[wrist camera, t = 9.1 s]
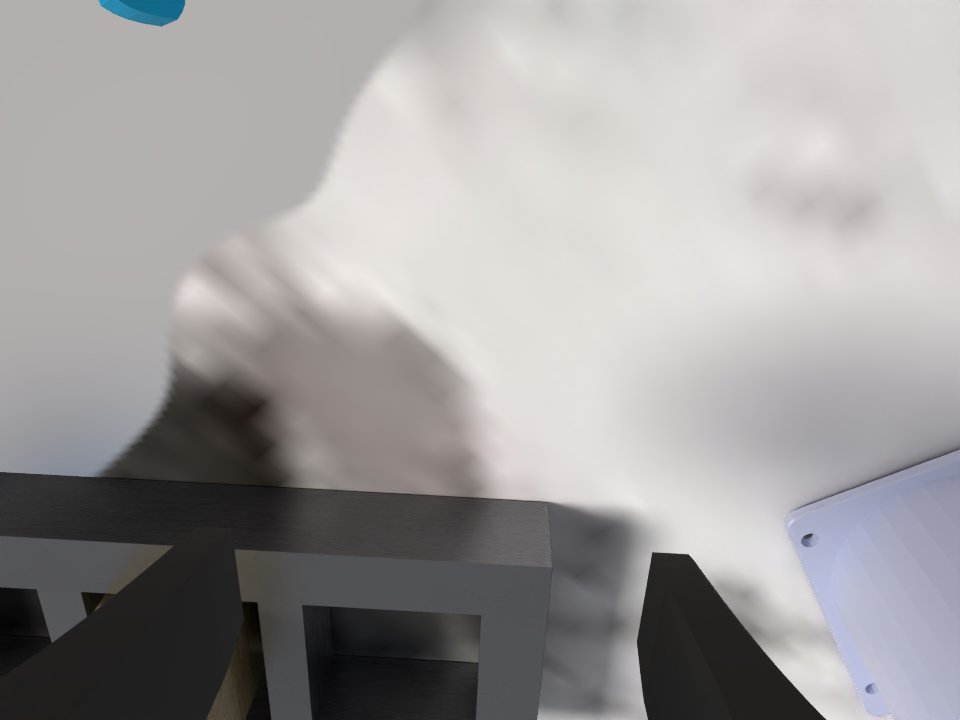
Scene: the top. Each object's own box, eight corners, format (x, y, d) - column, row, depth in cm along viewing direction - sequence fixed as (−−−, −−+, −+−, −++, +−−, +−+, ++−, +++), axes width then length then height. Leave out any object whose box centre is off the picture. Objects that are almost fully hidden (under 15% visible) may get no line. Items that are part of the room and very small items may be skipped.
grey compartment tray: (548, 502, 23) (552, 567, 21) (529, 704, 27) (530, 781, 25) (-142, 464, 24) (-225, 523, 21) (-64, 668, 28) (-127, 740, 25)
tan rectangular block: (268, 538, 25) (183, 723, 18) (279, 630, 26) (204, 827, 20) (147, 533, 25) (22, 714, 18) (166, 624, 26) (57, 819, 20)
